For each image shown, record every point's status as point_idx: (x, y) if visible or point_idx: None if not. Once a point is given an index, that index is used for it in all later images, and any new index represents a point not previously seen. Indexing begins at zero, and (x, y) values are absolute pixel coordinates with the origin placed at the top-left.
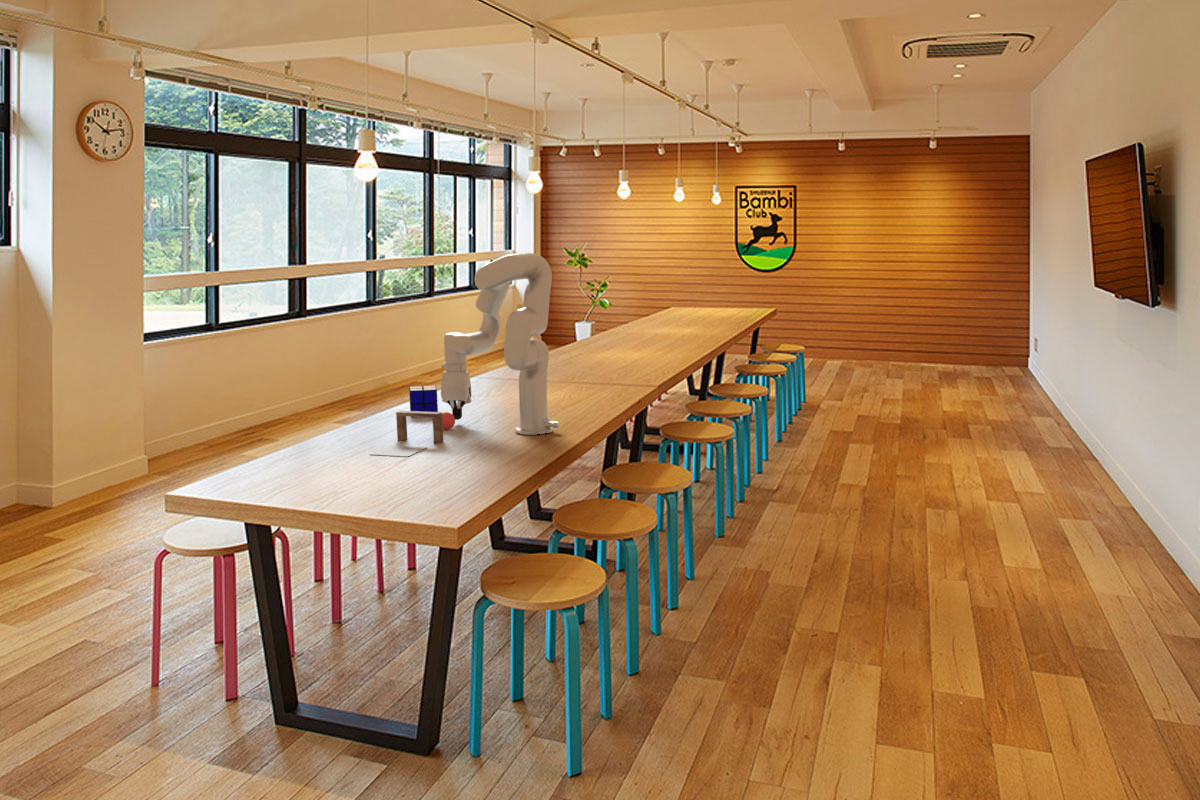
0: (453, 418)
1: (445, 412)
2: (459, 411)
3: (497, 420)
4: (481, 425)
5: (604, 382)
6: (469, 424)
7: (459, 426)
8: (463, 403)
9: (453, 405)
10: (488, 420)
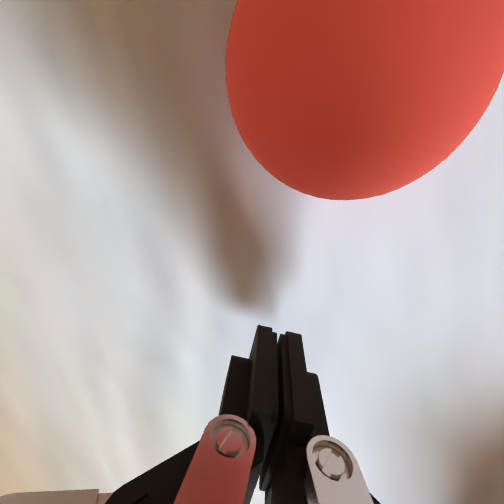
0: (233, 20)
1: (414, 32)
2: (231, 396)
3: (27, 436)
4: (64, 285)
5: None
6: (173, 324)
7: (234, 249)
8: (127, 498)
9: (315, 478)
10: (86, 439)
